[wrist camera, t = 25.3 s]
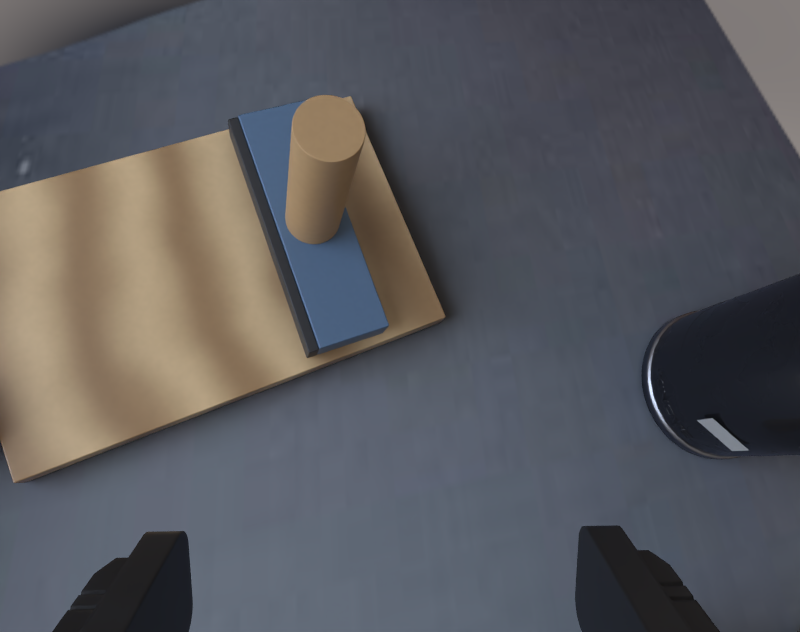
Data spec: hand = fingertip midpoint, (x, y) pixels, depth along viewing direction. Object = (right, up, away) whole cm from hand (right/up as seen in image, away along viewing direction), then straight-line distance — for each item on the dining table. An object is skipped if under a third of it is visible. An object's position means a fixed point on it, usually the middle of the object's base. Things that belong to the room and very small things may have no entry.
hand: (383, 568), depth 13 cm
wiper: (-5, +10, +25) cm, 27 cm away
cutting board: (-11, +8, +24) cm, 28 cm away
